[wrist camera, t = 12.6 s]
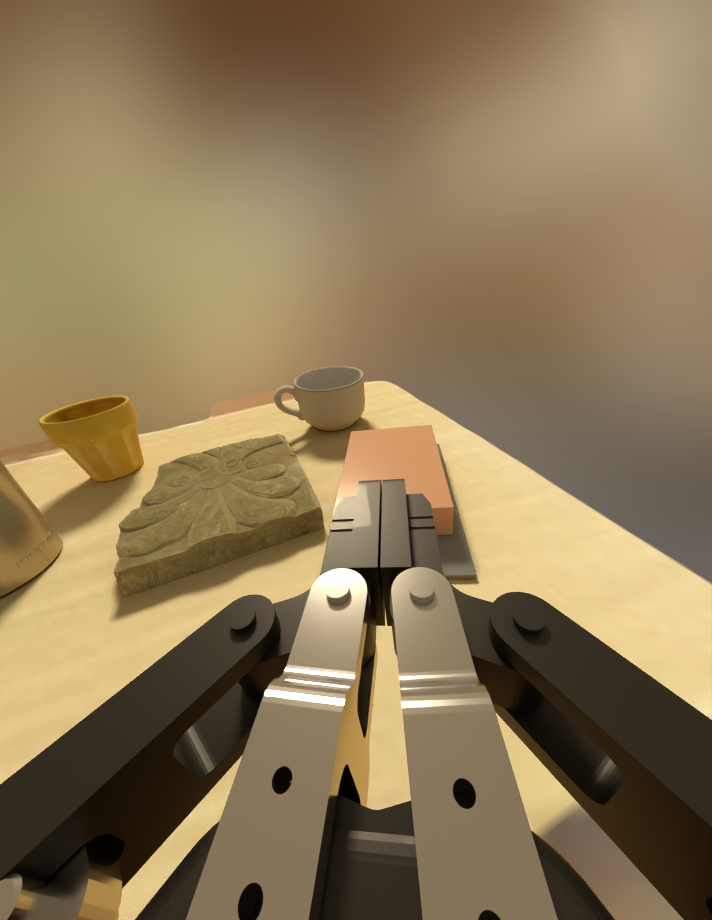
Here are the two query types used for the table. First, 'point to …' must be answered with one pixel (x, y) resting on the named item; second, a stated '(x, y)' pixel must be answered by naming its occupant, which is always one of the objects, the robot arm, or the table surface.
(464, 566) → the rubber mat
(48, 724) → the table surface
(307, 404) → the teacup
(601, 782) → the robot arm
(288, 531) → the decorative tile
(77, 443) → the plant pot
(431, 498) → the terracotta tile
